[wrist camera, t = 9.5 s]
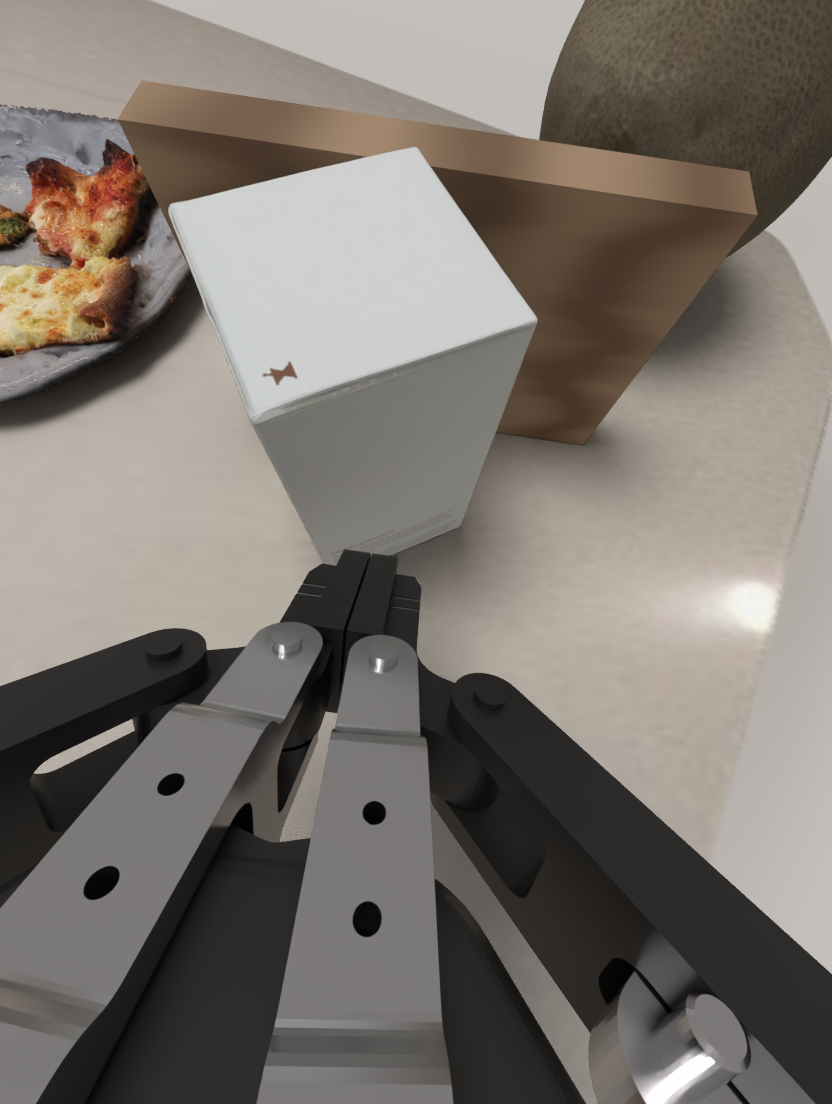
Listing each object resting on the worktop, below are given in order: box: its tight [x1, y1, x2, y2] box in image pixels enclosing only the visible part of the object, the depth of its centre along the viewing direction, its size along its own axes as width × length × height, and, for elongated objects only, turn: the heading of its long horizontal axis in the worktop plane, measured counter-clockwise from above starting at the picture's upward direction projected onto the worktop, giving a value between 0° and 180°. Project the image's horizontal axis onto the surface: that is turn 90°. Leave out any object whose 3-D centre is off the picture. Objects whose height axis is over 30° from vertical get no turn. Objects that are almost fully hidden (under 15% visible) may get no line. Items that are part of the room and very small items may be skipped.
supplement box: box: [168, 147, 538, 565], centre depth 16 cm, size 7×7×13 cm
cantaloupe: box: [539, 0, 832, 258], centre depth 21 cm, size 14×14×15 cm
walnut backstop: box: [118, 81, 757, 445], centre depth 18 cm, size 19×2×12 cm, turn 82°
